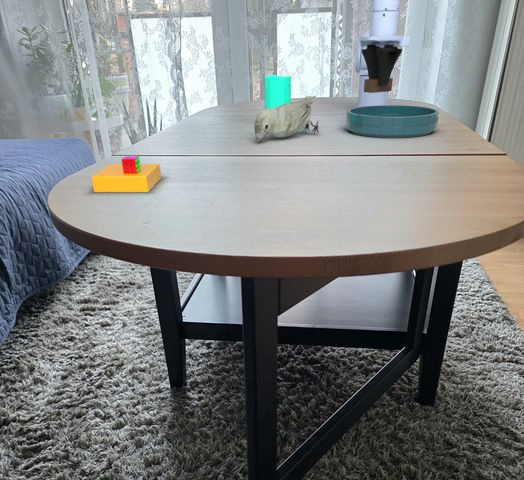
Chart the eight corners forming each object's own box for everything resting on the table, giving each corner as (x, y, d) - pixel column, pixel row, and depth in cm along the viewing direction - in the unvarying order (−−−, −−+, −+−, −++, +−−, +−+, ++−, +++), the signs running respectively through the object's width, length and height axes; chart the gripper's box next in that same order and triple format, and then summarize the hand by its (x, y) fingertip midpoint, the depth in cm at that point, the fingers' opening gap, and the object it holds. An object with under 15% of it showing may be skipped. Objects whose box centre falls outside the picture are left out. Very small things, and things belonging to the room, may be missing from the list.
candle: (261, 125, 121) (259, 68, 115) (283, 123, 123) (283, 67, 117) (271, 129, 117) (271, 70, 110) (295, 127, 119) (295, 68, 112)
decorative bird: (248, 141, 104) (247, 101, 100) (305, 132, 113) (306, 95, 109) (265, 145, 101) (264, 103, 97) (322, 135, 109) (324, 96, 105)
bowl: (363, 121, 123) (364, 103, 121) (445, 126, 115) (448, 107, 113) (332, 134, 109) (333, 114, 107) (422, 141, 100) (425, 119, 98)
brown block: (383, 90, 116) (385, 77, 115) (391, 91, 114) (392, 78, 113) (363, 92, 114) (364, 79, 112) (371, 93, 112) (372, 79, 110)
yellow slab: (93, 192, 73) (88, 161, 71) (111, 178, 80) (106, 150, 78) (148, 192, 72) (143, 161, 70) (161, 178, 79) (158, 149, 77)
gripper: (348, 13, 110) (344, 83, 117) (394, 10, 99) (387, 87, 106) (373, 13, 113) (367, 81, 120) (421, 10, 102) (411, 85, 109)
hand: (378, 84), depth 113 cm, fingers closed on brown block, 2 cm apart
